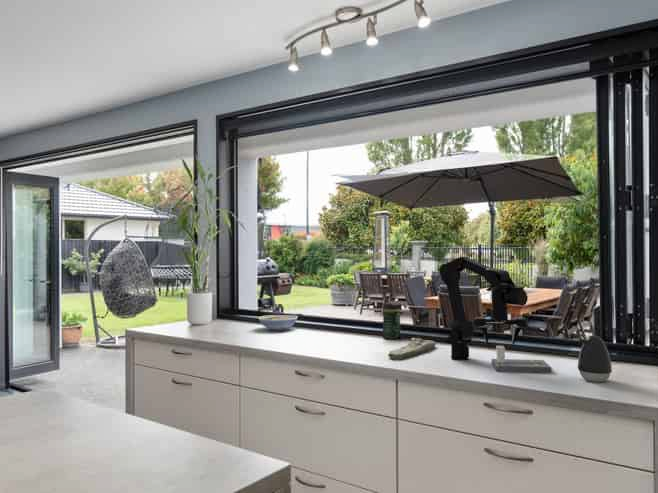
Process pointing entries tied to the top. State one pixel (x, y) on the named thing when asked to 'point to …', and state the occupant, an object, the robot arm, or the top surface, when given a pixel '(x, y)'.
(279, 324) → the ramen bowl
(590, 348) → the dark grey speaker
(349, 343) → the top surface
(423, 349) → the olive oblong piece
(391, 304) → the coffee jar
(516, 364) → the console
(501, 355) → the white small cylinder
